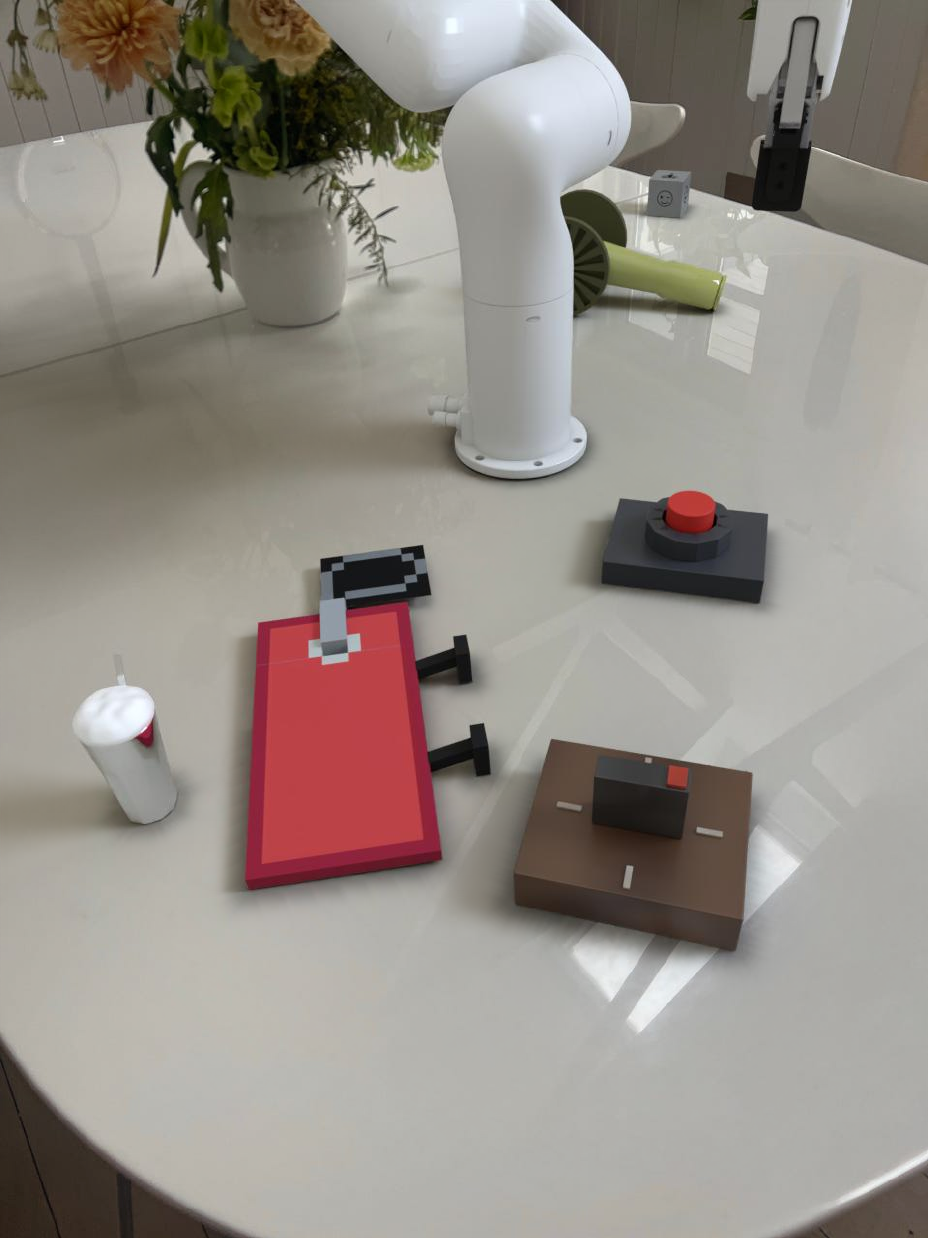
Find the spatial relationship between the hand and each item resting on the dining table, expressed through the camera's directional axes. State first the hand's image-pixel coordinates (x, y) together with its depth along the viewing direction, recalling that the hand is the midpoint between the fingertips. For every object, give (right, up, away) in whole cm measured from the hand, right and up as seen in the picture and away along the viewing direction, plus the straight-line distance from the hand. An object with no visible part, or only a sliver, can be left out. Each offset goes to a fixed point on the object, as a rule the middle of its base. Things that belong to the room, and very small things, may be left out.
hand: (776, 206), depth 64 cm
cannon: (-2, +11, +52) cm, 53 cm away
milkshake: (-41, -39, -4) cm, 57 cm away
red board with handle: (-28, -33, +2) cm, 44 cm away
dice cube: (+9, +33, +77) cm, 84 cm away
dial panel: (-11, -41, -9) cm, 44 cm away
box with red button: (-11, -39, -11) cm, 42 cm away
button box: (-3, -23, +12) cm, 26 cm away
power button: (-4, -20, +10) cm, 23 cm away
